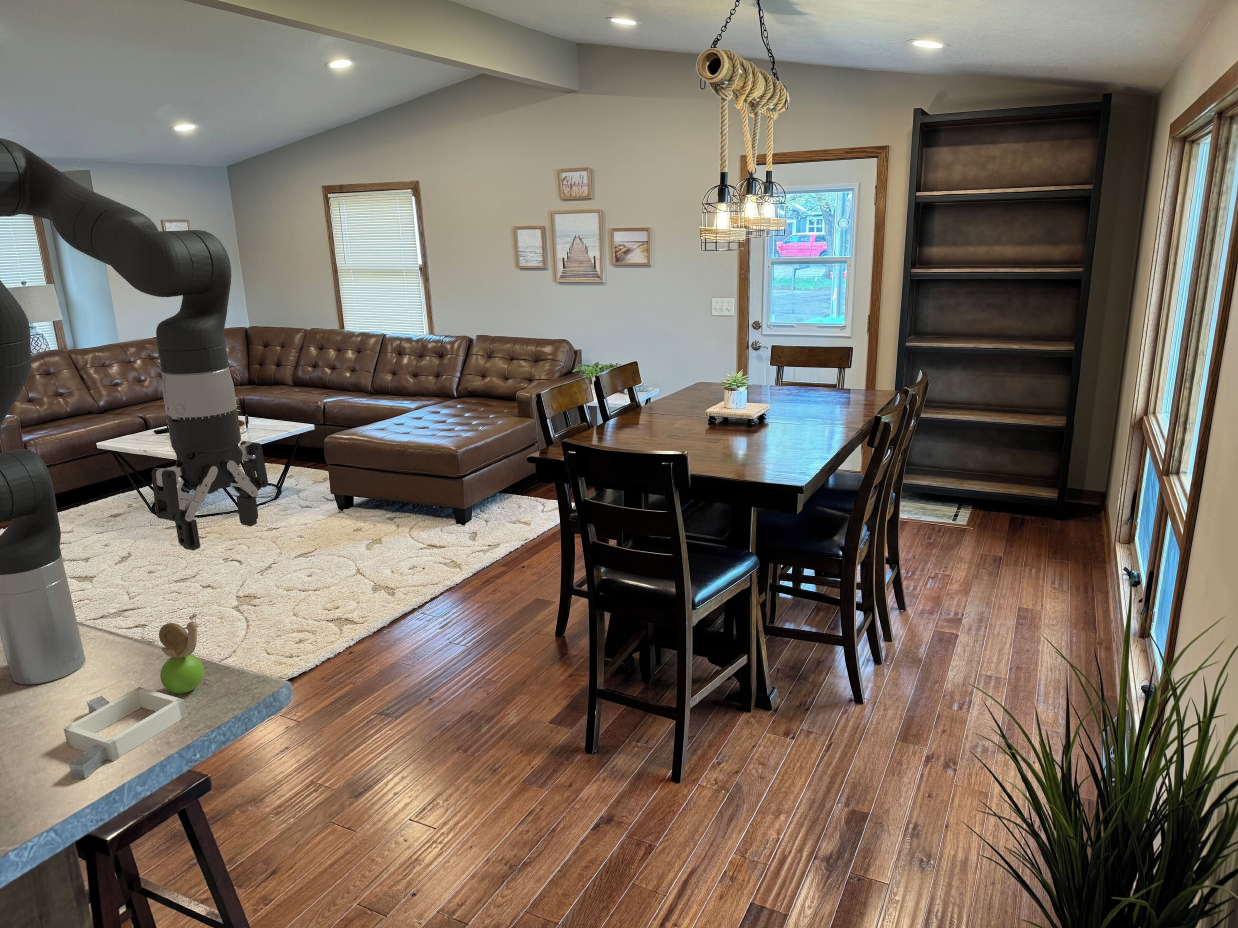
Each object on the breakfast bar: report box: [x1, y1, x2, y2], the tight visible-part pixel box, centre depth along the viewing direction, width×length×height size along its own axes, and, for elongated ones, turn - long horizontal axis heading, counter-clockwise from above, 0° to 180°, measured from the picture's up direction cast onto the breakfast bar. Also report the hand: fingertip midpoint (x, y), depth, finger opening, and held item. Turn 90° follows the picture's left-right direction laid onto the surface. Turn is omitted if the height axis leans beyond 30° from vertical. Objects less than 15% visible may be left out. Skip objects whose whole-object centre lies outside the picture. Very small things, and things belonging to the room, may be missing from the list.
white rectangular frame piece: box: [63, 686, 188, 780], centre depth 109 cm, size 13×15×2 cm
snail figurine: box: [158, 613, 205, 694], centre depth 118 cm, size 5×6×12 cm
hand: (221, 536), depth 104 cm, fingers open, 8 cm apart
